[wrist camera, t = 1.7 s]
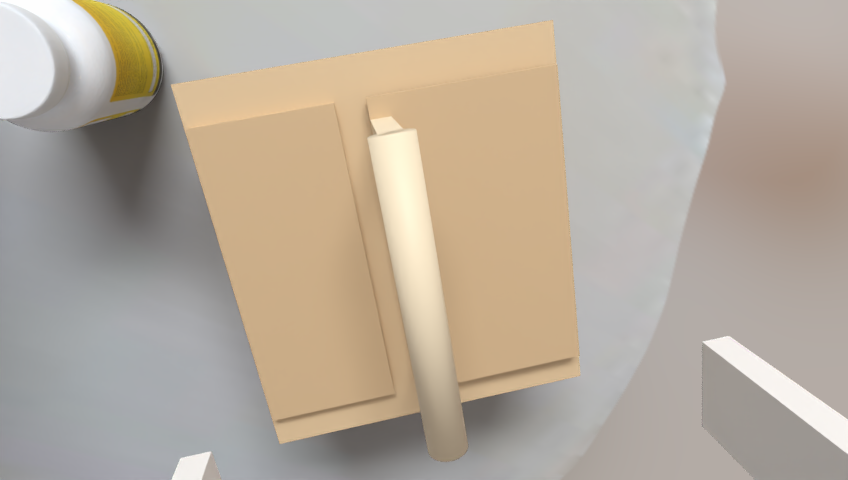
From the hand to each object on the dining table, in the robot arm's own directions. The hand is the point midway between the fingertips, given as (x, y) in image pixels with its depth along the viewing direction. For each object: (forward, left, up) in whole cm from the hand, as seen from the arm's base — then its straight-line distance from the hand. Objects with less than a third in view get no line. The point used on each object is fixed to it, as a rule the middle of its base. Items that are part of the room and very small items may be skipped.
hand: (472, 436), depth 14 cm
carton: (0, 0, -25) cm, 25 cm away
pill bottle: (-15, +12, -25) cm, 32 cm away
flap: (+4, 0, -15) cm, 15 cm away
